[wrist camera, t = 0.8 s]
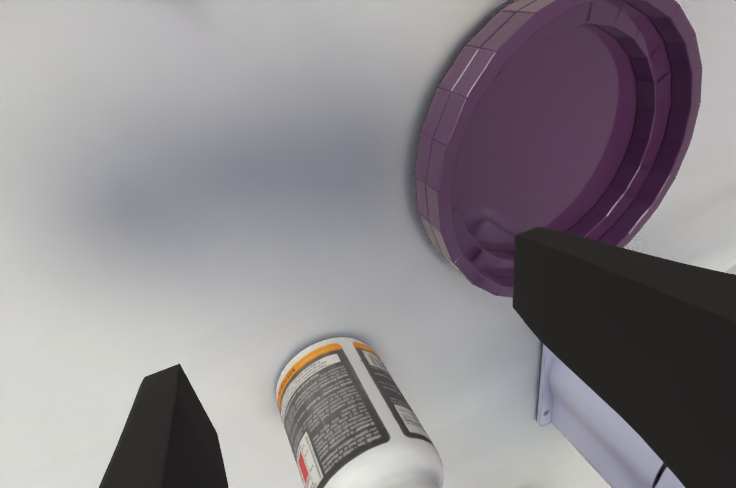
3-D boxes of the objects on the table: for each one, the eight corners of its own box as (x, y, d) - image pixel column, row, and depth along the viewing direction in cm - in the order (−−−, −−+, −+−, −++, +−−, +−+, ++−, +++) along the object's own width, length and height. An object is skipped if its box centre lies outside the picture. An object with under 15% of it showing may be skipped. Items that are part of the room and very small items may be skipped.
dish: (628, 224, 28) (666, 244, 26) (423, 307, 25) (448, 338, 23) (678, -47, 21) (738, -50, 18) (391, 18, 17) (425, 23, 15)
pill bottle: (272, 426, 24) (331, 641, 16) (275, 340, 22) (347, 546, 14) (370, 403, 27) (464, 583, 19) (383, 323, 24) (499, 492, 16)
